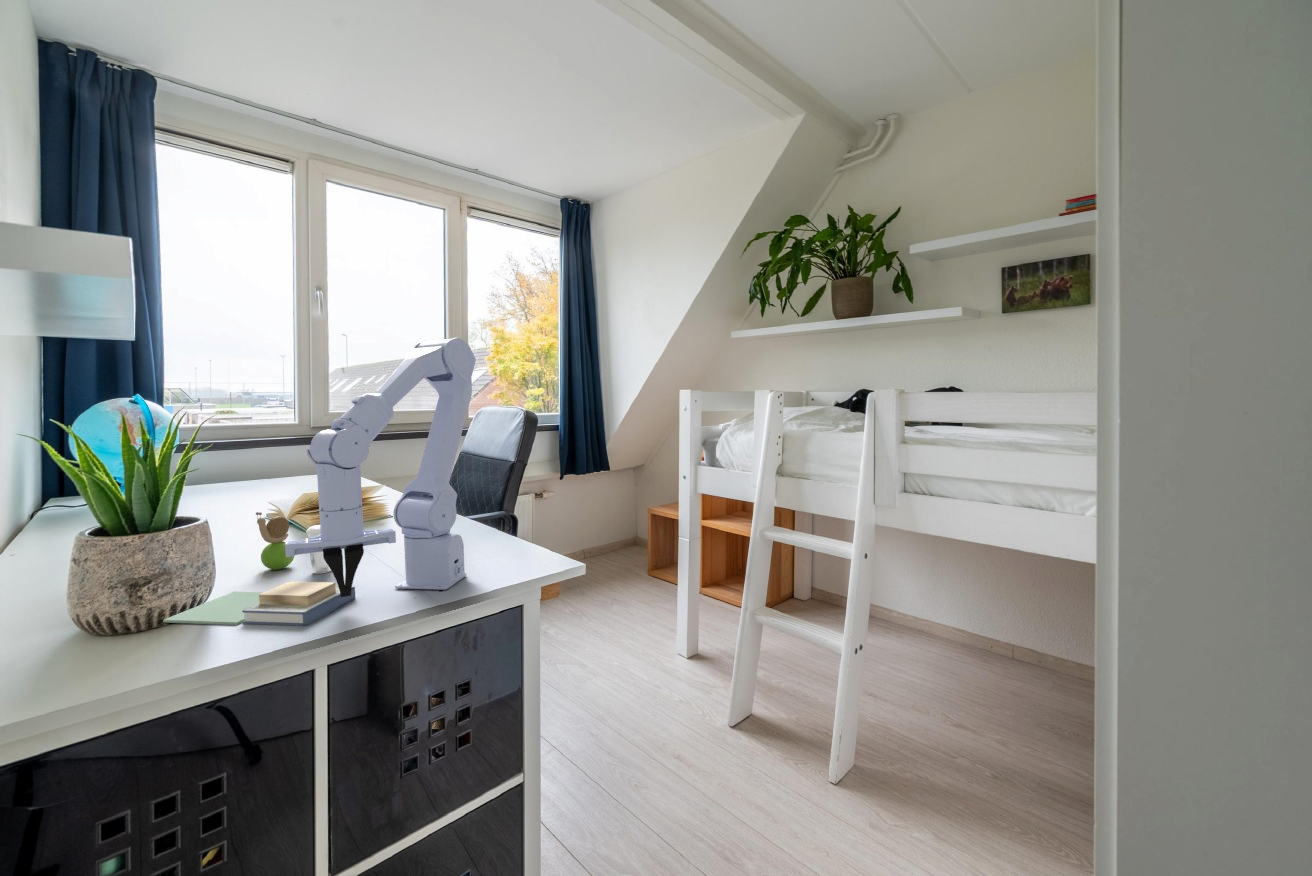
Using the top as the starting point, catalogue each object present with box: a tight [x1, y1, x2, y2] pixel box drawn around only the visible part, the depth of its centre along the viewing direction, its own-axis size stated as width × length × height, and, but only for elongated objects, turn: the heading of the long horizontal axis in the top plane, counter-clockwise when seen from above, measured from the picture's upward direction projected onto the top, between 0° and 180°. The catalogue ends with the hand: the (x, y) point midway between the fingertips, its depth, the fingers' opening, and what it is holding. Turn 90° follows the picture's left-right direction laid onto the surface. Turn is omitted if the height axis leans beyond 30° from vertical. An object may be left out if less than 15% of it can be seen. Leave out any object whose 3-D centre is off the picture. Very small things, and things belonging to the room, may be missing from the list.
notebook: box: [242, 585, 356, 627], centre depth 85 cm, size 10×11×2 cm
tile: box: [259, 581, 337, 606], centre depth 84 cm, size 8×6×2 cm
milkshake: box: [305, 524, 332, 575], centre depth 104 cm, size 5×5×10 cm
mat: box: [163, 591, 265, 626], centre depth 86 cm, size 12×12×1 cm
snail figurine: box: [255, 511, 295, 571], centre depth 105 cm, size 5×6×12 cm
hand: (345, 594), depth 84 cm, fingers closed
